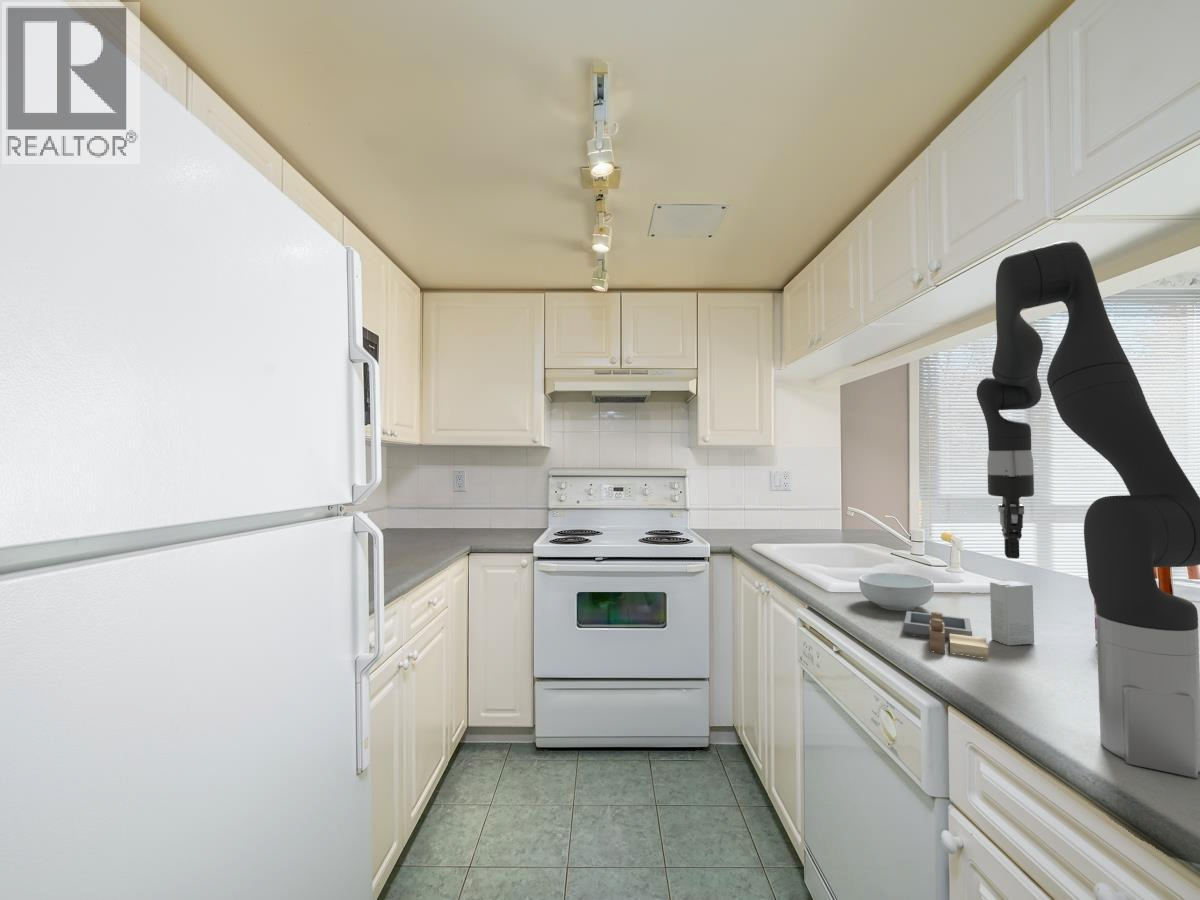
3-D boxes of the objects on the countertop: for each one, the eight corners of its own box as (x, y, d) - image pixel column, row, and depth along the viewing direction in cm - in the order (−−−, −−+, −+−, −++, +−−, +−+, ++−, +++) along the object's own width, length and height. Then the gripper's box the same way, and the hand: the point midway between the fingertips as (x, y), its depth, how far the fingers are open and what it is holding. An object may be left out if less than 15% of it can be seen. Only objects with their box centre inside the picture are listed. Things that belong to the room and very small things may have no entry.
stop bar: (945, 653, 104) (944, 622, 104) (930, 651, 105) (929, 621, 105) (944, 641, 111) (943, 612, 111) (930, 639, 112) (929, 610, 112)
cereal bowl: (882, 594, 148) (881, 569, 148) (947, 608, 134) (946, 580, 134) (845, 605, 139) (845, 577, 139) (911, 620, 125) (910, 590, 125)
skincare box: (1016, 637, 112) (1015, 579, 112) (1036, 645, 108) (1034, 584, 108) (989, 639, 112) (987, 581, 112) (1008, 646, 107) (1006, 586, 107)
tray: (972, 643, 109) (972, 631, 109) (904, 634, 116) (904, 622, 116) (969, 629, 118) (969, 618, 118) (906, 621, 124) (906, 611, 124)
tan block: (988, 660, 101) (987, 647, 101) (950, 655, 104) (949, 642, 104) (986, 650, 106) (985, 638, 106) (949, 645, 109) (949, 633, 109)
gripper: (985, 471, 118) (987, 550, 118) (989, 474, 106) (992, 561, 106) (1028, 471, 114) (1030, 553, 114) (1038, 474, 102) (1040, 565, 102)
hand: (1012, 556), depth 110 cm, fingers closed
